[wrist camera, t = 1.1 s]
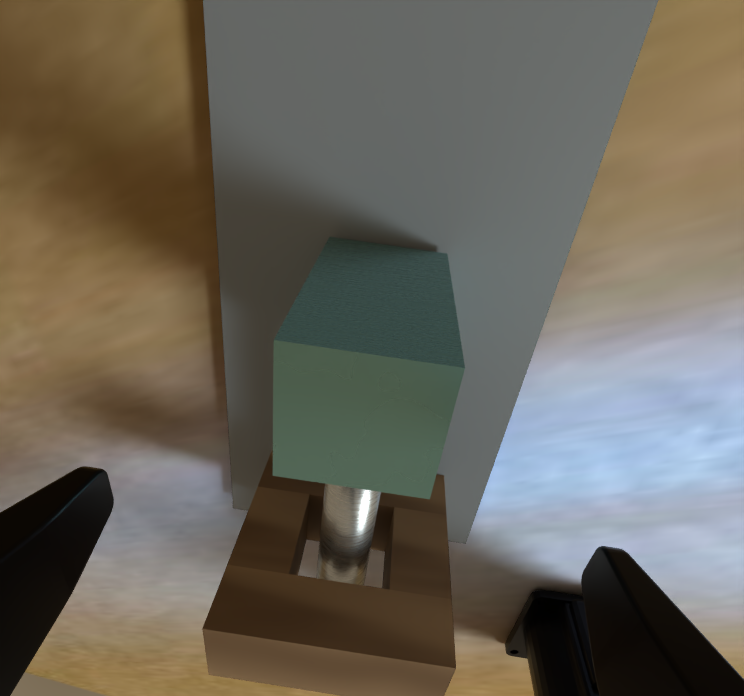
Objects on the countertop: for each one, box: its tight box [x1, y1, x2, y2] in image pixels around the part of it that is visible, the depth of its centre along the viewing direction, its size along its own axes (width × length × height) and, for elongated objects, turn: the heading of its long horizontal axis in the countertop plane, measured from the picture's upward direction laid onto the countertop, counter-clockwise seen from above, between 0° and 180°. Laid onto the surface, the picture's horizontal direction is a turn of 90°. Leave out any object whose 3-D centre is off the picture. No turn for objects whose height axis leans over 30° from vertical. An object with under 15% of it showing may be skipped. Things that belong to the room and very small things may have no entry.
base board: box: [203, 0, 658, 544], centre depth 18 cm, size 24×12×1 cm, turn 173°
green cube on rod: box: [273, 237, 465, 586], centre depth 17 cm, size 17×4×7 cm, turn 173°
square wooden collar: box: [203, 450, 456, 696], centre depth 19 cm, size 3×8×8 cm, turn 83°
